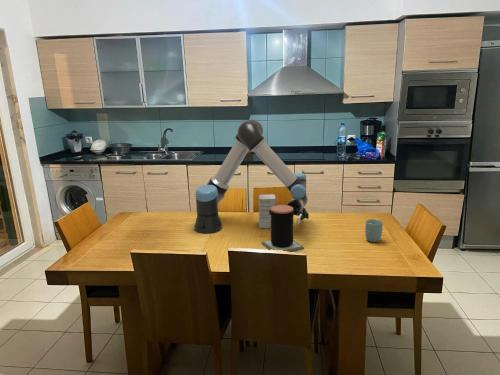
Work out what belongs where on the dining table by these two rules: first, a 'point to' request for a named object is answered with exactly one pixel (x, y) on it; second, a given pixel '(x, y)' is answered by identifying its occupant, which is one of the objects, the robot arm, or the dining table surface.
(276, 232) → the coffee jar
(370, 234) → the cup
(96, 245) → the dining table surface
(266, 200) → the supplement box
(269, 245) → the mat
